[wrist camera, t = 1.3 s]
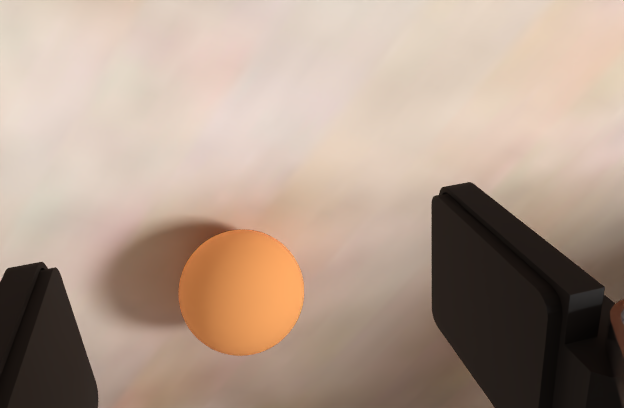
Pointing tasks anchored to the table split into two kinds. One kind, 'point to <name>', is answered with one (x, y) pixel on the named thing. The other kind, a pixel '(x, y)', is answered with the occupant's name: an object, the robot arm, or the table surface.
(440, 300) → the robot arm
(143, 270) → the table surface
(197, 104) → the table surface
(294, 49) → the table surface
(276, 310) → the ball
